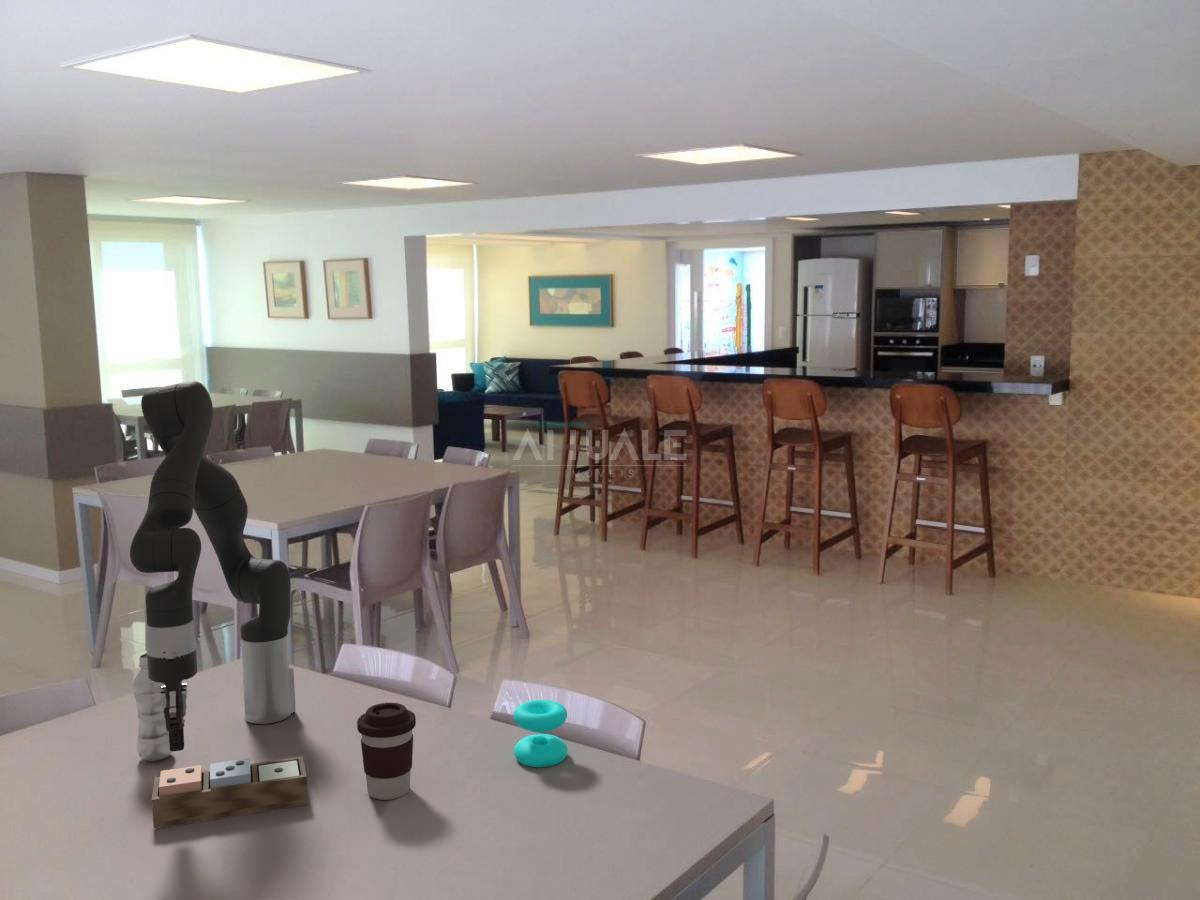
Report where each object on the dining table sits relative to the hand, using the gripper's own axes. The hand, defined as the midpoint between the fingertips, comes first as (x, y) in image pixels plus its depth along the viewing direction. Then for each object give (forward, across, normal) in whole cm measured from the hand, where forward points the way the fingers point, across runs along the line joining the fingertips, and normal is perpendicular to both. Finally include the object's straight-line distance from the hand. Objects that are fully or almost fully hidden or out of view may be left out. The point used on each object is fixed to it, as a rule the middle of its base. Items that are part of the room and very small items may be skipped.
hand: (177, 749), depth 173 cm
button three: (+8, 0, +8) cm, 11 cm away
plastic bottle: (+11, -25, -5) cm, 28 cm away
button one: (+9, 0, +16) cm, 18 cm away
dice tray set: (+11, 0, +8) cm, 14 cm away
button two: (+8, 0, 0) cm, 8 cm away
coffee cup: (+11, +4, +34) cm, 36 cm away
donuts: (+11, 0, +63) cm, 64 cm away
